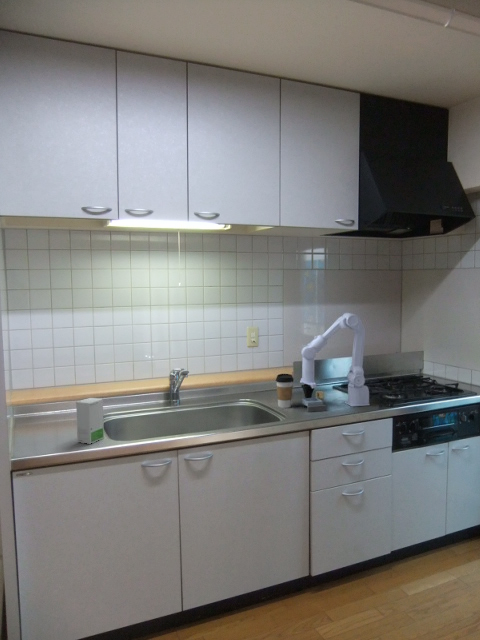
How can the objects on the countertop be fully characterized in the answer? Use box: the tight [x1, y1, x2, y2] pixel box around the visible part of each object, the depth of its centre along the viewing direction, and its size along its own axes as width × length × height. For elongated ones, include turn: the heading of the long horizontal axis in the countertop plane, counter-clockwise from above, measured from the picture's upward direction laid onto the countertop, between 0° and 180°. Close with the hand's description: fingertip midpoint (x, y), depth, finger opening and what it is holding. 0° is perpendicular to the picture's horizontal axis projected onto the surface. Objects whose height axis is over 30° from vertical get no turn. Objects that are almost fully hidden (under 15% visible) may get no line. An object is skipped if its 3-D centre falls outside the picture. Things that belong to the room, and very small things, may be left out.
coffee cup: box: [275, 373, 294, 409], centre depth 228 cm, size 8×8×15 cm
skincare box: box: [75, 397, 105, 445], centre depth 182 cm, size 8×7×16 cm
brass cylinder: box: [315, 390, 325, 404], centre depth 234 cm, size 4×4×6 cm
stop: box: [306, 404, 327, 413], centre depth 220 cm, size 9×1×2 cm, turn 105°
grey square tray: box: [301, 396, 324, 408], centre depth 225 cm, size 8×8×4 cm
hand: (308, 399), depth 230 cm, fingers closed
